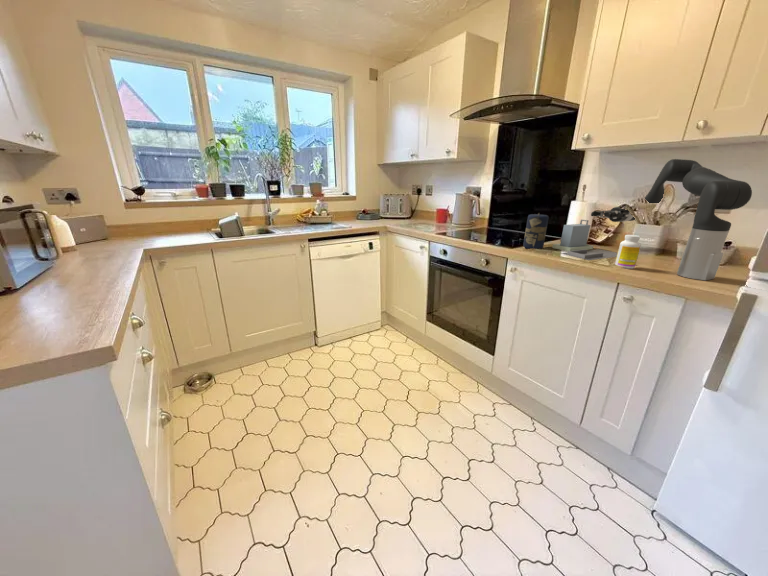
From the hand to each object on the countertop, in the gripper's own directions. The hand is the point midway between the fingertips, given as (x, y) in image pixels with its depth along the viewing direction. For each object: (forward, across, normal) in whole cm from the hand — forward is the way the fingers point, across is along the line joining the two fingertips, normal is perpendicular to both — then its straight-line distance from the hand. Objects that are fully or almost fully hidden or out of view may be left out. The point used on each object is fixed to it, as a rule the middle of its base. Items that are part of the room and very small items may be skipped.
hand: (600, 214), depth 153 cm
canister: (+27, -13, +18) cm, 35 cm away
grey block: (+11, -3, +17) cm, 21 cm away
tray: (+11, -3, +18) cm, 21 cm away
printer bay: (+14, +10, +18) cm, 25 cm away
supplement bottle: (+22, +28, +18) cm, 40 cm away
